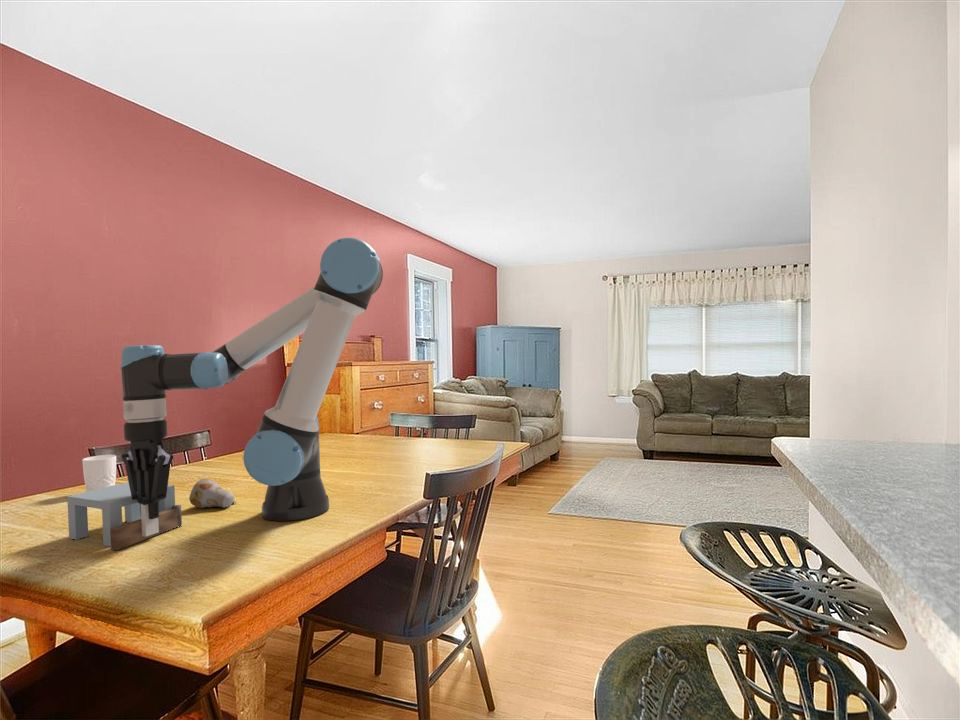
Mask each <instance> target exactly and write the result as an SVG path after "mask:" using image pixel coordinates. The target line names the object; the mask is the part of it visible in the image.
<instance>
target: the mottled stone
mask: <svg viewBox="0 0 960 720" xmlns="http://www.w3.org/2000/svg"><path fill="white" fill-rule="evenodd" d="M188 499H189V502H190V504H191V505H192V506H194V507H197V508H200V509H204V507H208V508H215V507H216V508H217V507H219V508H222V509H226V508H225V507H227V508H229V507H230V506H232V504H233V503H236V502H237V501H236V500H235V495H234V493H233V492H231V491H228V490H226V489H224V488H223V487H221V485H219V483H217V482H216V481H215V480H213V479H210V478H202V479H199V480H198V481H196V482H195V483H194V485H193V486H192V489H191V491H190V494H189V498H188ZM236 504H237V503H236Z"/></svg>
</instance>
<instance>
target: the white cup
mask: <svg viewBox="0 0 960 720" xmlns="http://www.w3.org/2000/svg"><path fill="white" fill-rule="evenodd" d="M81 462H82V472H83V479H84V485H85V492H88V491H92V490H97V489H101V488H105V487H109V486H114V485H116V480H117V455H115V454H103V455H101V454H100V455H94V456H93V455H92V456H87V457H85V458H82V459H81Z"/></svg>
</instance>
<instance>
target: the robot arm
mask: <svg viewBox="0 0 960 720" xmlns="http://www.w3.org/2000/svg"><path fill="white" fill-rule="evenodd" d="M319 270H320V272H319V276H318V278H317V281H316V282H315V284H314V286H313V287H311V288H309V289H308V290H307V291H304V292H303V293H301V294H300V295H299V296H297V297H295V298H294V299H293V300H291V301H289V302H288V303H286V304H285V305H283V306H281V307H280V308H278V309H277V310H276V311H273V312H272V313H271V314H269V315H267V316H266V317H264V318H263V319H261V320H260V321H258V322H257V323H255V324H253V325H252V326H251V327H248V328H247V329H246V330H244V331H242V332H241V333H239V334H238V335H237V336H235V337H234V338H232V339H230V340H229V341H226V342H225V344H223V345H221V346H219V347H218V348H216V349H215V350H213V351H207V352H206V351H204V352H189V353H186V352H185V353H165V351H164V347H163V346H162V345H159V344H157V345H156V344H146V345H144V344H143V345H142V344H141V345H140V344H138V345H126V346H124V347H123V348H122V350H121V361H120V362H121V363H120V370H121V383H122V385H121V386H122V403H123V405H122V406H123V407H122V409H123V420H125V421H126V422H125V423H124V424H123V435H124V436H123V438H124V440H125V441H126V442H130V445H129V451H128V452H126V453H122V454H121V459H122V461H123V464H124V467H125V471H126V476H127V482H129V486H130V491H131V496H132V499H133V500H135V499H136V500H138V503H140V515H141V523H142V536H149V535H152V534H155V533H158V532H159V523H158V517H159V505H158V503H159V501H160V500H162V499H165V498H166V495H167V487H168V485H169V478H170V477H169V476H170V471H171V465H172V462H173V460H174V454H173V453H168V452H166V451H165V445H164V442H163V439H164V438H166V437H167V436H168V421H167V420H166V419H164V418H165V417H167V416H168V413H167V398H166V391H173V390H199V389H200V390H202V389H203V390H209V389H210V390H211V389H214V388H215V389H217V388H218V389H219V388H221V387H223V386H226V385H228V384H230V383H232V382H234V381H235V380H236V379H237V378H238V377H239V375H241V374H243V372H244V371H246V370H247V369H249V368H250V367H252V366H254V365H256V364H258V362H260V361H262V359H264V358H266V357H267V356H269V355H270V354H272V353H274V352H275V351H276V350H279V349H280V348H281V347H283V346H285V345H286V344H288V343H289V342H291V341H292V340H294V339H295V338H297V337H298V336H300V335H302V334H303V333H304V334H303V336H302V338H301V341H300V343H299V346H298V347H297V348H298V349H297V351H296V353H295V356H294V358H293V361H292V364H291V366H290V369H289V370H288V374H287V376H286V378H285V381H284V383H283V386H282V388H281V391H280V392H279V396H278V398H277V401H276V404H275V406H273V407H271V408H269V409H267V410H265V412H263V416H262V418H261V421H260V423H259V425H258V428H257V431H256V433H255V434H254V435H253V436H252V437H251V438H250V439H249V440H248V442H247V443H246V445H245V447H244V450H243V455H242V460H243V464H244V465H243V466H244V468H245V469H246V471H247V473H248V475H249V476H250V477H251V478H252V479H253V480H254V481H255V482H258V483H260V484H262V485H265V486H267V488H266V492H265V496H264V501H263V503H262V505H261V517H262V518H263V519H265V520H269V521H275V522H276V521H278V522H285V521H286V522H288V521H298V520H304V519H309V518H313V517H317V516H319V515H322V514H324V513H326V512H327V511H328V510H329V509H330V497H329V496H328V494H327V493H326V489H325V486H324V482H323V479H322V477H321V453H320V452H321V451H320V448H321V447H320V429H321V428H320V424H319V418H318V413H319V410H320V408H321V405H322V404H323V400H324V398H325V396H326V393H327V390H328V389H329V388H328V387H329V385H330V383H331V380H332V378H333V374H334V372H335V370H336V367H337V365H338V362H339V360H340V357H341V355H342V353H343V350H344V347H345V345H346V342H347V340H348V338H349V335H350V332H351V330H352V327H353V325H354V322H355V319H356V317H357V316H360V315H361V314H363V313H366V311H367V309H368V306H369V304H370V301H371V299H372V296H373V295H374V294H375V293H376V292H377V291H378V290H379V288H380V287H381V285H382V282H383V277H384V273H383V272H384V271H383V267H382V263H381V260H380V258H379V255H378V253H377V252H376V251H375V249H374V248H373V247H372V246H371V245H370V244H368V243H367V242H365V241H364V240H362V239H359V238H355V237H342V238H338V239H337V240H334V241H333V242H331V243H329V244H328V246H327V247H326V248H325V249H324V251H323V253H322V254H321V257H320V262H319Z"/></svg>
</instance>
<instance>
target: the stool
mask: <svg viewBox="0 0 960 720" xmlns="http://www.w3.org/2000/svg"><path fill="white" fill-rule="evenodd" d="M175 490H176V489H175V485H173V484H168V487H167V495H166V498H165V499H162V500H160V501H159V503H158V505H159V512H162V511H165V510H168V509H171V508H172V506H174V505H176V492H175ZM66 499H67V502H66V503H67V517H68V518H67V520H68V539H69V540H72V539H75V540H74V541H78V540H81V539H80V538H82V539H84V538H83V537H85V538H87V536H88V537H89V521H88V520H89V519H88V508H91V509H97V510H98V509H99V510H101V516H102V517H101V518H102V519H101V520H102V541H103V542H102V543H103V546H104V547H108V546H110V547H109V548H111V537H110V529H112V528H115V527H118V526H121V525H123V508H124V522H125V521H127V522H126V523H128V522H132V521H135V520H138V519H141V515H140V503H138V500H136V499H135V500H133V499H132V496H131V491H130V486H129V482H128V481H127V482H126V481H125V482H123V483H118V484H115V485H114V486H109V487H105V488H101V489H97V490H92V491H88V492H86V491H84V492H81V493H77V494H73V495H72V494H71V495H68V496H67V498H66ZM77 539H78V540H77Z"/></svg>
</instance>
